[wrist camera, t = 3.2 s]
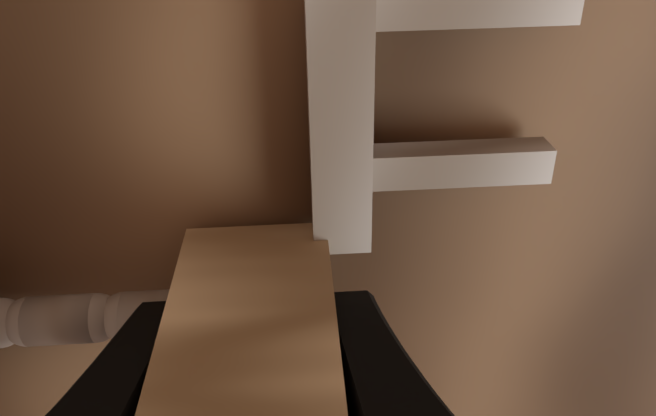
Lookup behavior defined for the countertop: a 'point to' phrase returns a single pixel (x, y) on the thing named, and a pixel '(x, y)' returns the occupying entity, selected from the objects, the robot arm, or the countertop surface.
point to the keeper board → (387, 206)
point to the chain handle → (297, 233)
